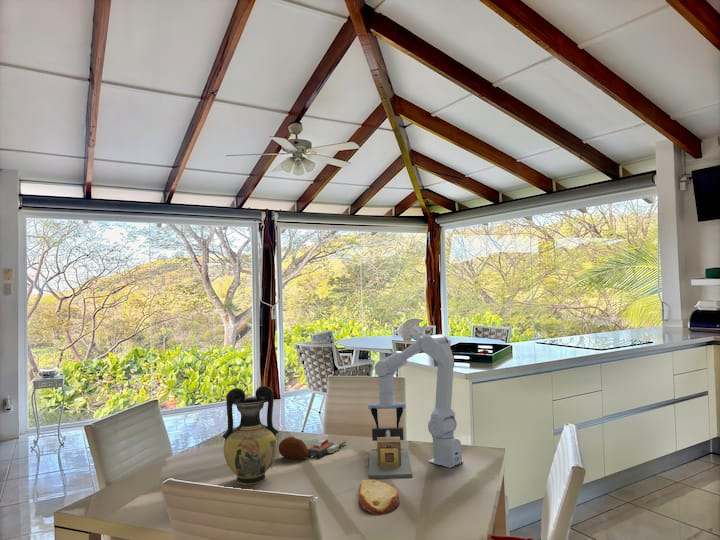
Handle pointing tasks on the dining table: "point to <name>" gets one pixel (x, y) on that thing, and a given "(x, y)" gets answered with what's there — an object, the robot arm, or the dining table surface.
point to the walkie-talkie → (323, 448)
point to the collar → (389, 450)
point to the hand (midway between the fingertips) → (387, 427)
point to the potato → (293, 448)
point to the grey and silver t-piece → (387, 433)
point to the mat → (389, 472)
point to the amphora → (250, 436)
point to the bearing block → (388, 442)
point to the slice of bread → (378, 497)
